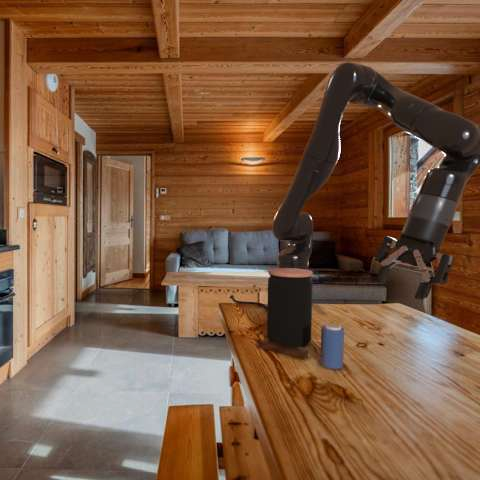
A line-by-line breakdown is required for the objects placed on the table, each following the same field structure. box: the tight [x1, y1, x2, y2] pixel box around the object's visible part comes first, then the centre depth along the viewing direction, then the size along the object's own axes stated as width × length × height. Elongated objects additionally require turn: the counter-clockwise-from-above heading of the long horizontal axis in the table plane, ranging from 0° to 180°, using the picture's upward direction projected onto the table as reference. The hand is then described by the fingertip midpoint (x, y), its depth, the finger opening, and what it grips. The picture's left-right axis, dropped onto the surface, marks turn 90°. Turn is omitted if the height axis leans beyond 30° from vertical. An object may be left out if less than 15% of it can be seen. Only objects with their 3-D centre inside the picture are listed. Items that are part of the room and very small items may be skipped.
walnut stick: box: [258, 339, 309, 360], centre depth 90 cm, size 11×2×2 cm, turn 46°
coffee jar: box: [266, 267, 314, 348], centre depth 97 cm, size 11×11×18 cm
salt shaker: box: [319, 323, 345, 370], centre depth 82 cm, size 4×4×8 cm
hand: (399, 290), depth 83 cm, fingers open, 8 cm apart
